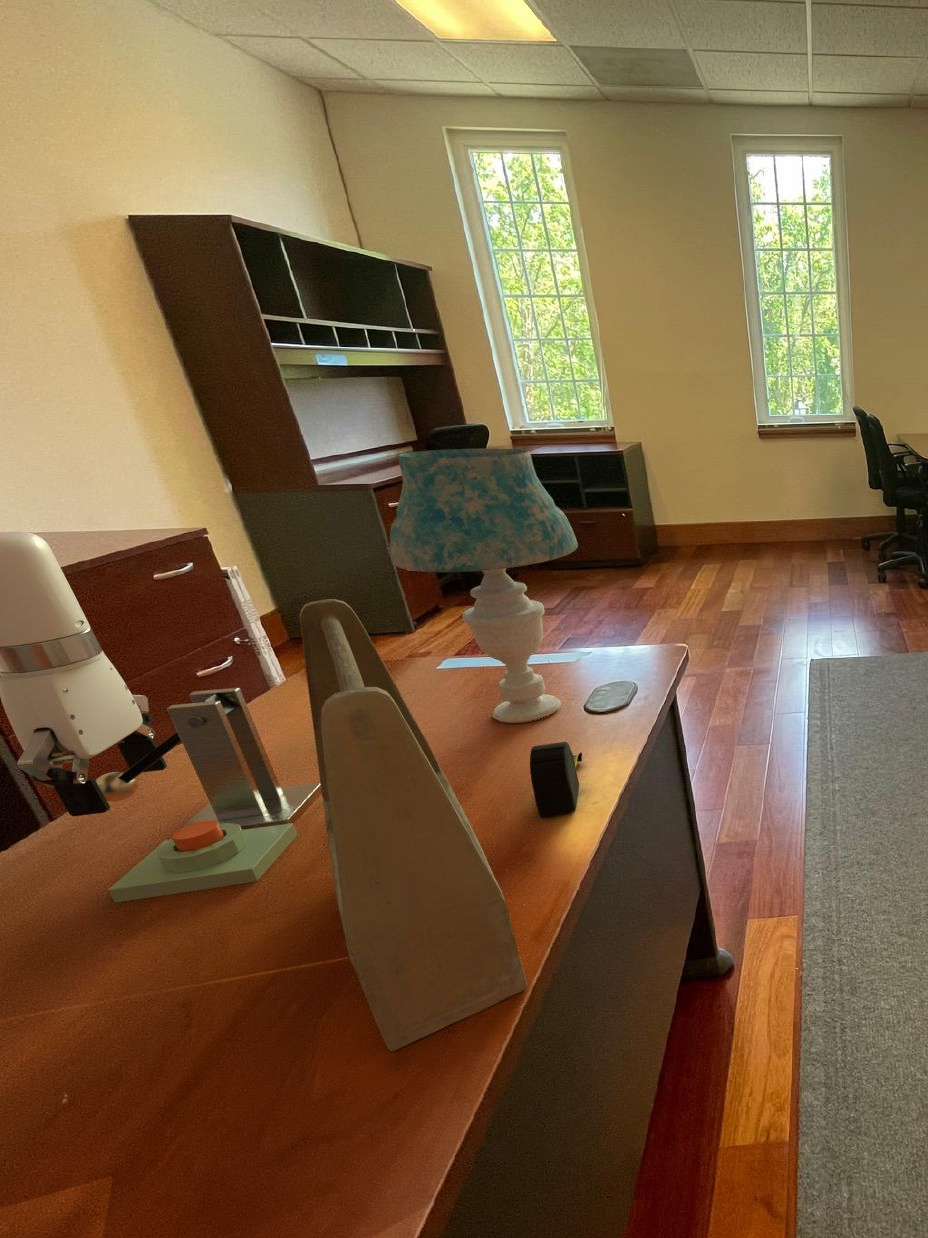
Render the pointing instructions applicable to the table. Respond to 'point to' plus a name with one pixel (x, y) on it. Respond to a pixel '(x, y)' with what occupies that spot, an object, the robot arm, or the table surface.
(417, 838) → the caddy
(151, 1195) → the table surface
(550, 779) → the tape measure
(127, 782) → the lever
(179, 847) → the button
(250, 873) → the button box
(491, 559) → the table lamp
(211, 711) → the bracket
